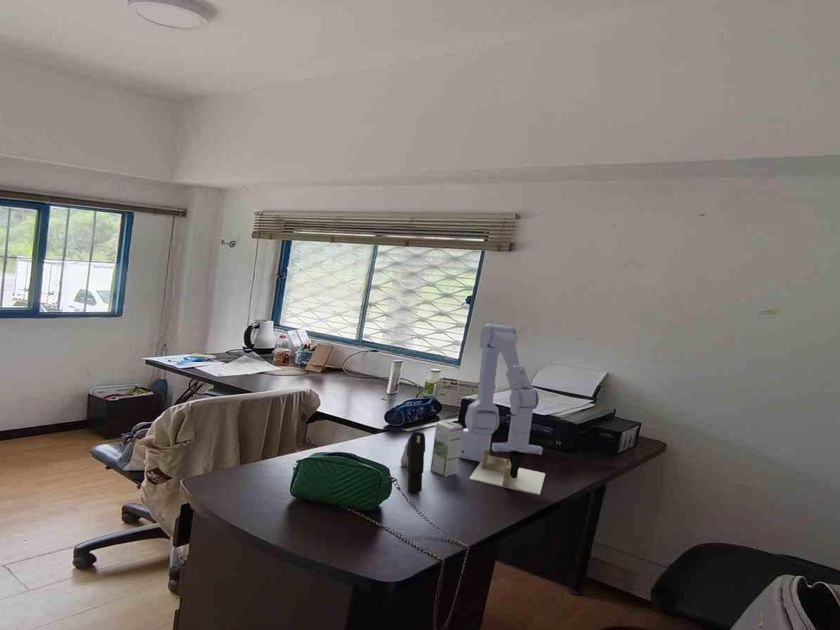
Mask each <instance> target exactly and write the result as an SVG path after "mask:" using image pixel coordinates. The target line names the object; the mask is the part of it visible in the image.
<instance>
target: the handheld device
mask: <svg viewBox="0 0 840 630" xmlns="http://www.w3.org/2000/svg"><path fill="white" fill-rule="evenodd" d="M425 452H426V436H425V434H424V432H419V431H414V432H412V433H411V435H410V436H409V438H408V439H407V442H406V444H405V445H404V450H403V452H402V455H401V458H400V466H401V465H402V466H401V467H405V466H408V467H407V472H406V473H407V476H408V477H407V492H408V491H409V492H408V493H416V492H419V493H420V492H422V489H423V484H422V483H423V473H424V465H425V464H424V463H425Z"/></svg>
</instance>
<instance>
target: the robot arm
mask: <svg viewBox="0 0 840 630" xmlns="http://www.w3.org/2000/svg"><path fill="white" fill-rule="evenodd" d="M479 339H480V341H479V348H481V351H482V352H481V363H480V371H479V378H478V381H479V382H478V391H477V399H475V400H474V401H473V402H471V403H470V404H469V405H468V406H467V410H466V413H465V417H464V423H465V426H466V427H465V428H464V427H463V428H462V434H461V441H460V449H459V456H458V458H461V459H463V460H464V459H466V460H469V461H474V462H479V463H480V462H483V455H484V450H488V451H489V452H490V449H491V450H492V451H493V452H507V455H508V459H510V463H511V471H510V476H511V477H512V478H517V475H518V469H519V468H521V465H522V464H523V462H524V461H525V460H526V459H527V455H526V454H537V455H543V447H542V446H540V445H534V444H529V441H530V433H531V426H532V421H533V420H532V419H533V411H534V410H535V409H536V408H537V407H538V406H539V400H540V399H539V397H540V396H539V393H538V391H537V389H536V388H534V386H533V385H531V382H530V380H529V377H528V374H527V371H526V369H525V367H523V366H522V365H521V364H520V360H519V356H518V351H517V347H516V345H517V341H518V332H517V329H516V327H514V326H513V325H509V326H508V325H497V324H491V323H486V324H484V326H483V328H481V331H480V338H479ZM500 353H501V354H502V357H503V360H504V362H505V365H506V367H507V370H506V372H505V376H506V378H507V382H508V385H509V389H510V392H511V394H510V395H509V402H510V403H509V404H510V409H509V411H510V413H511V415H510V416H511V417H510V423H509V430H508V431H509V432H508V439H507V442H492V434H494V433H495V431H496V430H497V429H498V428H499V425H500V415H499V414H500V413H499V409H500V408H498V407H497V406H496V404H495V403H494V395H495V386H496V385H495V384H496V377H497V368H498V367H497V366H498V359H499V357H498V356H499V354H500ZM491 442H492V445H491ZM489 456H491V455H490V454H489Z"/></svg>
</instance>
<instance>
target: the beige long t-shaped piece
mask: <svg viewBox="0 0 840 630" xmlns="http://www.w3.org/2000/svg"><path fill="white" fill-rule="evenodd" d="M507 465H508V466H507V467H505V471H504V479H503V486H504V487H503V488H505V487H508V485H509V479H510V471H511V463H510V461H509V464H508V463H507Z"/></svg>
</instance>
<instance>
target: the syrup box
mask: <svg viewBox="0 0 840 630" xmlns="http://www.w3.org/2000/svg"><path fill="white" fill-rule="evenodd" d="M435 423H436V424H435V432H434V439H433V440H434V441H433V448H432V454H431V456H432V457H431V461H430V462H431V463H430V471H431V472H433V473H436V474H437V473H438V474H437V475H440V476H442V477H449V475H450V476H454V475H456V474H457V472H458V465H459V463H458V461H459V457H458V456H459V449H460V442H461V436H462V432H463V425H460V424H458V423H454V422H452V421H448V420H446V421H443V420H442V421H438V422H435ZM453 474H454V475H453Z"/></svg>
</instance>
